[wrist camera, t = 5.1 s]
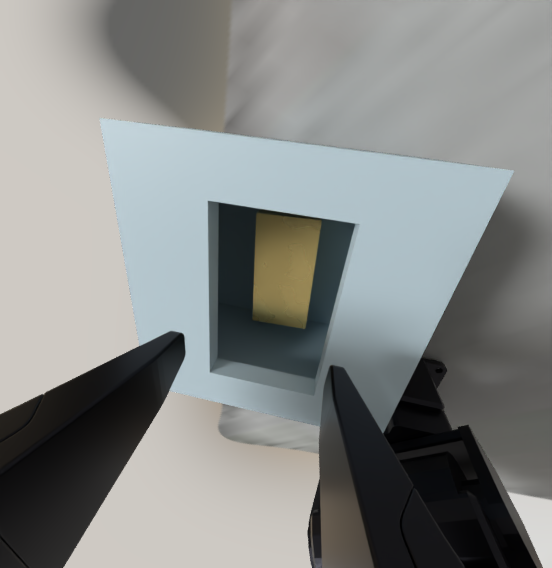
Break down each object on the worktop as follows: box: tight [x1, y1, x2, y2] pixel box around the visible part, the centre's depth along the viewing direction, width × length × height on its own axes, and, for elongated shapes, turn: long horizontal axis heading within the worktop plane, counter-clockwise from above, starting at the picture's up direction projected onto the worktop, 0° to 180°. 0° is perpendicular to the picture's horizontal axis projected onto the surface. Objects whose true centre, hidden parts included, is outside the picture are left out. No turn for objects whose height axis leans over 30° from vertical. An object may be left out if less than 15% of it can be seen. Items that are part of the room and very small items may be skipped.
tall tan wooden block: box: [252, 209, 322, 329], centre depth 15 cm, size 3×6×4 cm, turn 176°
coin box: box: [100, 118, 514, 433], centre depth 14 cm, size 12×12×8 cm
